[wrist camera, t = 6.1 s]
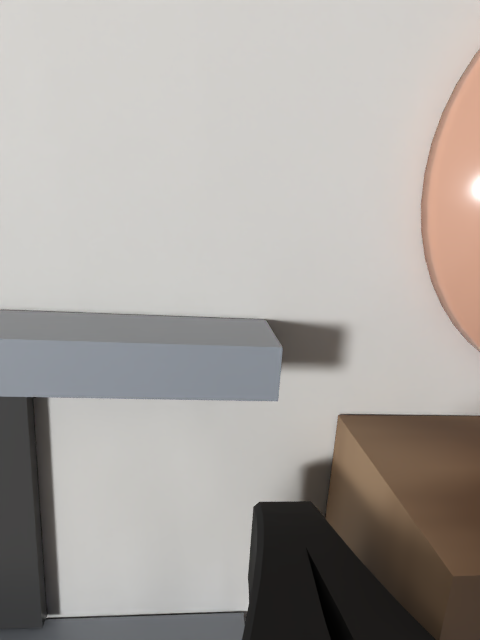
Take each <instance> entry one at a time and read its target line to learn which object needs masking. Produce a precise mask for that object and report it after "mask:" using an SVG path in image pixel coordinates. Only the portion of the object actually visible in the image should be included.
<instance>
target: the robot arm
mask: <svg viewBox="0 0 480 640" xmlns="http://www.w3.org/2000/svg"><path fill="white" fill-rule="evenodd" d="M248 583H249V607H248V612H247V617H246V622H245V627H244V632H243V637H242V640H436V639H435V638H434V637H433V636H432V635H431V634H430V633H429V632H428V631H427V630H426V629H425V628H424V627H423V626H422V625H421V624H420V623H419V622H418V621H417V620H416V619H415V618H414V617H413V616H412V615H411V614H410V613H409V612H408V611H407V610H406V609H405V608H404V607H403V606H402V605H401V604H400V603H399V602H398V601H397V600H396V599H395V598H394V597H393V596H392V594H391V593H390V592H389V591H388V590H387V589H386V588H385V587H384V586H383V585H382V584H381V582H380V581H379V580H378V579H377V578H376V577H375V576H374V575H373V574H372V573H371V571H370V570H369V569H368V568H367V567H366V566H365V565H364V564H363V563H362V561H361V560H360V559H359V558H358V557H357V556H356V555H355V553H354V552H353V551H352V550H351V549H350V548H349V546H348V545H347V544H346V543H345V542H344V541H343V539H342V538H341V537H340V536H339V535H338V533H337V532H336V531H335V530H334V529H333V527H332V526H331V525H330V524H329V523H328V521H327V520H326V519H325V518H324V517H323V515H322V514H321V513H320V512H319V510H318V509H317V508H316V507H315V506H314V505H313V504H312V502H259V503H258V504H256V505H255V506H254V508H253V521H252V534H251V547H250V560H249V573H248Z"/></svg>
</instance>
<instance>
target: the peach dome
mask: <svg viewBox="0 0 480 640" xmlns="http://www.w3.org/2000/svg"><path fill="white" fill-rule="evenodd" d="M421 232H422V239H423V247H424V254H425V260H426V263H427V267H428V271H429V274H430V278H431V282H432V284H433V287H434V289H435V291H436V294H437V296H438V298H439V300H440V303H441V305H442V307H443V308H444V310H445V312H446V313H447V315H448V316H449V318H450V320H451V321H452V323H453V325H454V326H455V327H456V328H457V329H458V331H459V332H460V333H461V334H462V335H463V336H464V338H465V339H466V340H467V341H468V342H469V343H470V344H471V345H472V346H473V347H475V348H476V349H477V350H478V351H479V352H480V49H479V51H478V52H477V53H476V54H475V56H474V57H473V59H472V60H471V62H470V64H469V65H468V67H467V68H466V70H465V71H464V73H463V75H462V76H461V78H460V79H459V81H458V82H457V84H456V86H455V88H454V90H453V92H452V94H451V96H450V98H449V101H448V103H447V105H446V107H445V109H444V111H443V113H442V115H441V118H440V121H439V124H438V127H437V130H436V132H435V135H434V138H433V141H432V144H431V148H430V152H429V156H428V161H427V165H426V169H425V174H424V183H423V191H422V200H421Z"/></svg>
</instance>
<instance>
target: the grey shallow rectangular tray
mask: <svg viewBox="0 0 480 640" xmlns="http://www.w3.org/2000/svg"><path fill="white" fill-rule="evenodd" d="M282 350H283V347H282V345H281V344H280V342H279V341H278V339H277V337H276V336H275V334H274V332H273V331H272V329H271V328H270V326H269V324H268V323H267V321H266V320H263V319H235V318H208V317H181V316H154V315H127V314H100V313H73V312H46V311H19V310H0V640H242V637H243V632H244V627H245V623H244V614H243V613H217V614H188V615H158V616H129V617H100V618H70V619H46V617H47V612H46V597H45V581H44V566H43V551H42V535H41V520H40V505H39V490H38V474H37V459H36V444H35V429H34V413H33V398H32V397H61V398H119V399H178V400H236V401H278V396H279V384H280V373H281V361H282Z"/></svg>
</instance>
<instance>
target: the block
mask: <svg viewBox="0 0 480 640" xmlns="http://www.w3.org/2000/svg"><path fill="white" fill-rule="evenodd" d="M325 519H326V520H327V521H328V523H329V524H330V525H331V526H332V527H333V529H334V530H335V531H336V532H337V533H338V535H339V536H340V537H341V538H342V539H343V541H344V542H345V543H346V544H347V545H348V546H349V548H350V549H351V550H352V551H353V552H354V553H355V555H356V556H357V557H358V558H359V559H360V560H361V561H362V563H363V564H364V565H365V566H366V567H367V568H368V569H369V570H370V571H371V573H372V574H373V575H374V576H375V577H376V578H377V579H378V580H379V581H380V582H381V584H382V585H383V586H384V587H385V588H386V589H387V590H388V591H389V592H390V593H391V594H392V596H393V597H394V598H395V599H396V600H397V601H398V602H399V603H400V604H401V605H402V606H403V607H404V608H405V609H406V610H407V611H408V612H409V613H410V614H411V615H412V616H413V617H414V618H415V619H416V620H417V621H418V622H419V623H420V624H421V625H422V626H423V627H424V628H425V629H426V630H427V631H428V632H429V633H430V634H431V635H432V636H433V637H434V638H435V639H436V640H480V416H394V415H338V421H337V429H336V437H335V445H334V453H333V461H332V469H331V477H330V485H329V493H328V501H327V509H326V517H325Z"/></svg>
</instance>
